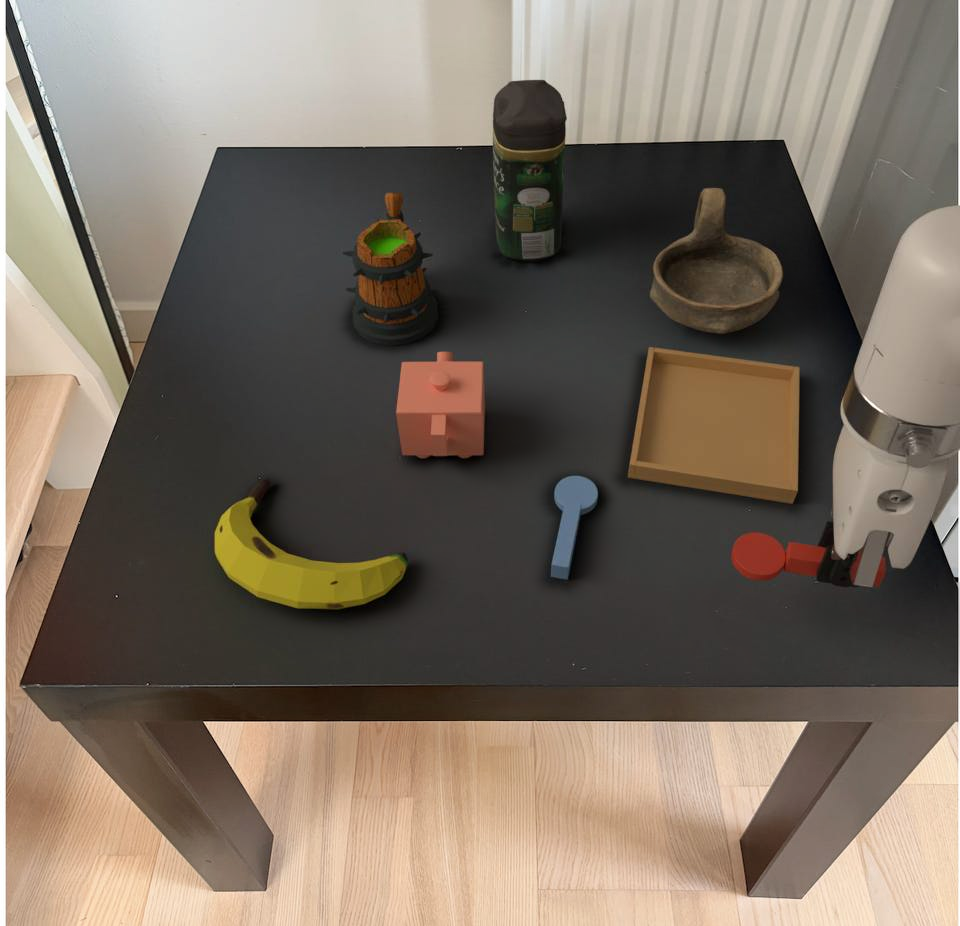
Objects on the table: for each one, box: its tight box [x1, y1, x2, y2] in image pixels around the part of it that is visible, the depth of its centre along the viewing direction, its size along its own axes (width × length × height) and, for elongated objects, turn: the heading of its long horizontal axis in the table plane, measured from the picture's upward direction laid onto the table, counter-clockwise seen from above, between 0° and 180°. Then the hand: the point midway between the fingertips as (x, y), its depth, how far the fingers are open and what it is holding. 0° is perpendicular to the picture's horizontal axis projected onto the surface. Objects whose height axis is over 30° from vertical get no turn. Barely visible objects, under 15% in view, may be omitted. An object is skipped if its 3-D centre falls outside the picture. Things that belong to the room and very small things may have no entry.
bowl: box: [649, 187, 784, 335], centre depth 98 cm, size 14×18×10 cm
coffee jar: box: [492, 79, 568, 262], centre depth 102 cm, size 10×8×19 cm
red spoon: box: [730, 532, 887, 588], centre depth 70 cm, size 11×4×2 cm, turn 77°
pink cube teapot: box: [395, 351, 486, 459], centre depth 87 cm, size 8×12×8 cm, turn 179°
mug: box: [342, 192, 440, 347], centre depth 98 cm, size 13×10×12 cm
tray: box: [627, 346, 801, 505], centre depth 89 cm, size 15×16×2 cm
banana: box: [214, 478, 409, 610], centre depth 81 cm, size 5×17×15 cm
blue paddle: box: [550, 475, 599, 581], centre depth 82 cm, size 11×4×2 cm, turn 167°
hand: (837, 568), depth 70 cm, fingers closed on red spoon, 1 cm apart
